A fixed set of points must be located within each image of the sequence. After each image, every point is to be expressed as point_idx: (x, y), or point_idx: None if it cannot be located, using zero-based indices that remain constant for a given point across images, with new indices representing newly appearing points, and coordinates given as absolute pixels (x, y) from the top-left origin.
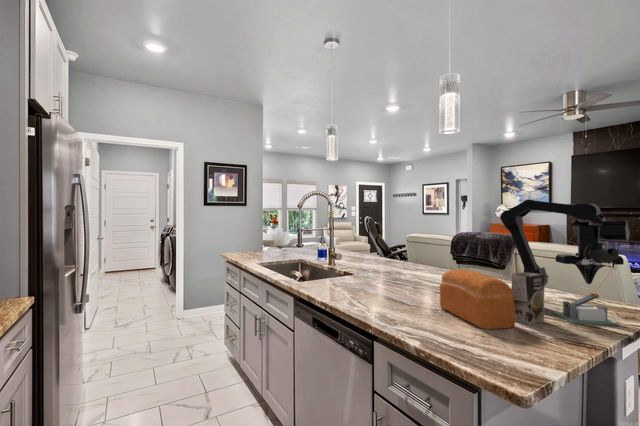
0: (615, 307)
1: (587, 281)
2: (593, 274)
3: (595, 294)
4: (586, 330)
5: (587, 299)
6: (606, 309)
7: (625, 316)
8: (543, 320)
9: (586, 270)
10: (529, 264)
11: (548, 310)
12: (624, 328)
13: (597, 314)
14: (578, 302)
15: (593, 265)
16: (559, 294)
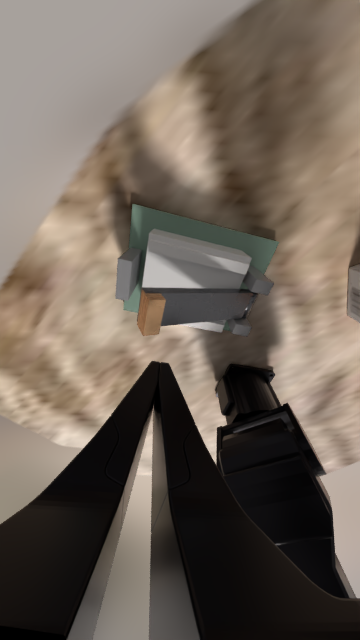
0: (5, 366)
1: (172, 379)
2: (126, 425)
3: (159, 296)
4: (311, 146)
5: (198, 292)
6: (124, 256)
7: (26, 294)
8: (357, 265)
9: (214, 488)
10: (342, 576)
11: (223, 355)
12: (128, 161)
13: (182, 238)
14: (227, 299)
15: (80, 627)
16: (86, 444)
